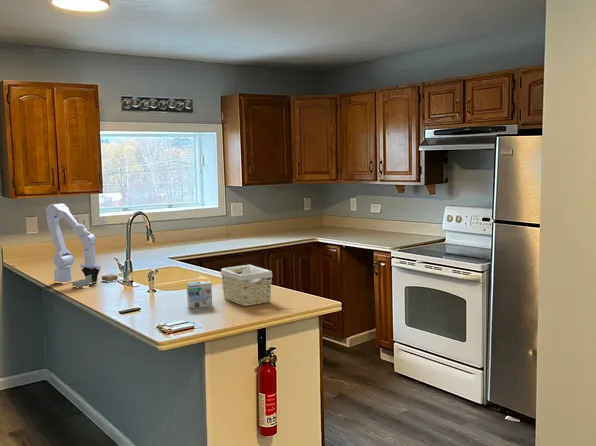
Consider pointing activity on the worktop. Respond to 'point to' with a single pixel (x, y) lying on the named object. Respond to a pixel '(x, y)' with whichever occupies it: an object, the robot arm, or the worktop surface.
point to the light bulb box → (199, 294)
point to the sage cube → (89, 279)
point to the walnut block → (109, 277)
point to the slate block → (80, 283)
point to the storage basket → (247, 284)
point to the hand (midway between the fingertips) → (91, 281)
